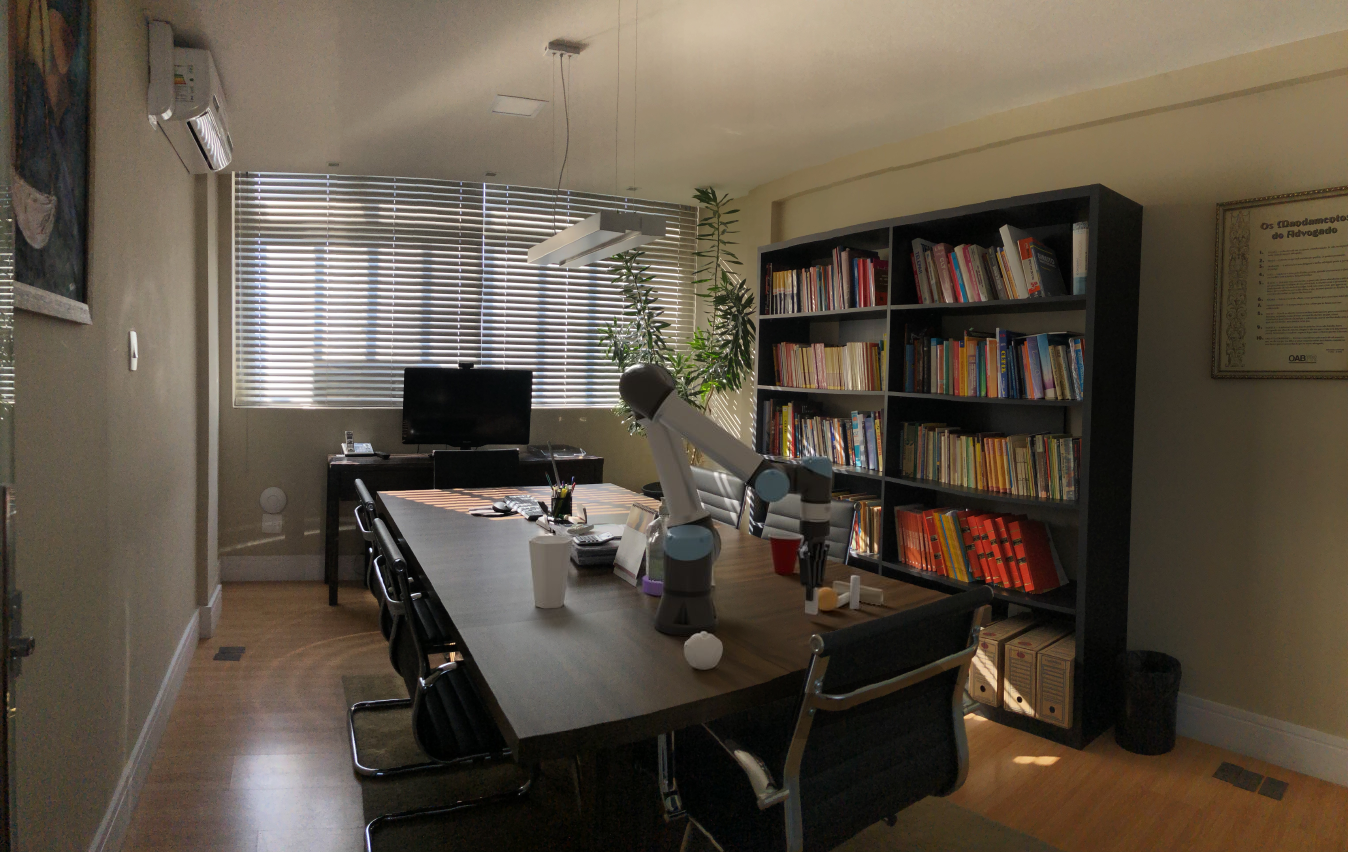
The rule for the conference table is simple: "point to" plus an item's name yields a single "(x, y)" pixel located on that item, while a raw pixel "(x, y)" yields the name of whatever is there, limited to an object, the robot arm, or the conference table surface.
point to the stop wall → (865, 594)
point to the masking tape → (652, 586)
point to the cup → (550, 569)
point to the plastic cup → (784, 552)
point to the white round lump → (703, 650)
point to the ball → (827, 599)
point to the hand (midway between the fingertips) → (811, 612)
